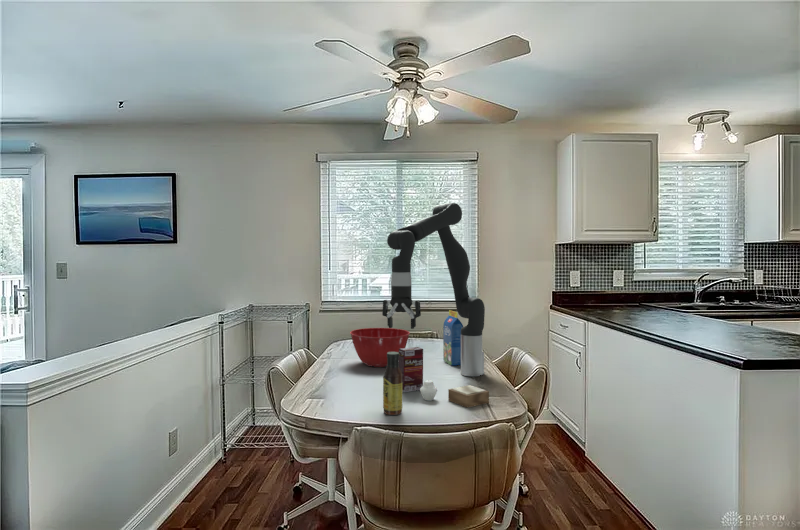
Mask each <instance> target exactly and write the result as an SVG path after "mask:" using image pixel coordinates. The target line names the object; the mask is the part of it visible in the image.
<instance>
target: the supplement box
mask: <svg viewBox="0 0 800 530" xmlns="http://www.w3.org/2000/svg"><path fill="white" fill-rule="evenodd" d="M399 368H400V370H401V372H402V393H407V392H409V393H410V392H416V390H417V391H420V388H421V387H422V386H423V384H424V349H423V348H421V347H419V346H416V347H405V348H402V349H399Z"/></svg>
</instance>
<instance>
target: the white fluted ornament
mask: <svg viewBox="0 0 800 530" xmlns="http://www.w3.org/2000/svg"><path fill="white" fill-rule="evenodd" d="M419 392H420V394H421V396H422V399H423V400H424V401H426V402H427V401H433V400H434V399H435V396H436V395H437V392H438V388H437V387H436V385H435V384H434V381H432V380H431V379H430V380H429V379H428V380H424V381H423V386H422V387H421V388H420V390H419Z"/></svg>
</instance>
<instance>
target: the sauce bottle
mask: <svg viewBox="0 0 800 530" xmlns="http://www.w3.org/2000/svg"><path fill="white" fill-rule="evenodd" d="M382 377H383V378H382V379H383V380H382V381H383V387H382V388H383V389H382V390H383V391H382V395H383V396H382V400H383V402H382V403H383V405H382V407H383V413H384V414H386V415H387V416H396V415H397V416H398V415H401V413H402V411H403V410H402V409H403V392H402V372H401V370H400V368H399V352H388V353H387V367H385V370H384V373H383V376H382Z"/></svg>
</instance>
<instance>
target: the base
mask: <svg viewBox="0 0 800 530" xmlns="http://www.w3.org/2000/svg"><path fill="white" fill-rule="evenodd" d="M448 400H449V402H451V403H454V404H457V405H459V406H462V407H465V408H471V407H476V406H481V405H484V404H485V405H486V404H489V403H490V391H489V390H486V389H483V388H480V387H476V386H473V385H470V384H468V385H463V386H459V387H458V386H457V387H453V388H448Z"/></svg>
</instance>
